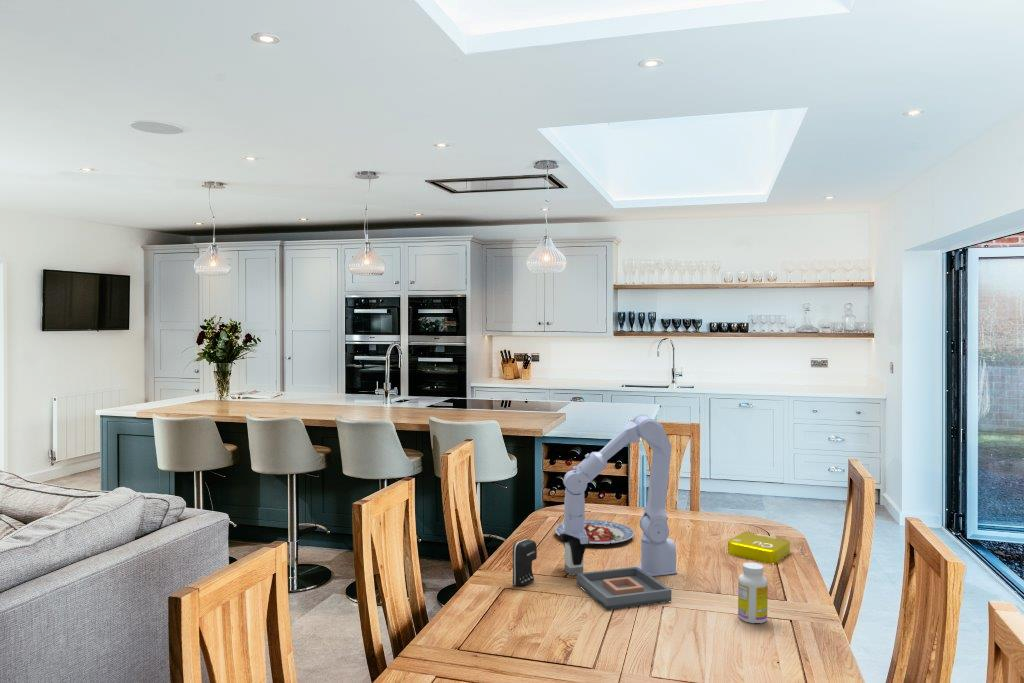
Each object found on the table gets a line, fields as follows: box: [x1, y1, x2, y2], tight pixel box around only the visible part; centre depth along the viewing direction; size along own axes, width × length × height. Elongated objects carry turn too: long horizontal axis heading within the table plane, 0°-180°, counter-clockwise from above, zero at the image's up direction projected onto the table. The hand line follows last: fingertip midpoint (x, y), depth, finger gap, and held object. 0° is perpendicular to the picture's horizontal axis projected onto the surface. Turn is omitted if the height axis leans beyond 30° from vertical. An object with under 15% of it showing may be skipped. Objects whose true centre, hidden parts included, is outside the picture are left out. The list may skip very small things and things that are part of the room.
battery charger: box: [512, 538, 538, 587], centre depth 193 cm, size 7×4×11 cm, turn 143°
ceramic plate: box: [554, 519, 635, 545], centre depth 235 cm, size 26×26×3 cm
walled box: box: [576, 566, 672, 611], centre depth 186 cm, size 18×18×3 cm
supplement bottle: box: [737, 562, 769, 624], centre depth 171 cm, size 7×7×13 cm
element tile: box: [727, 531, 791, 564], centre depth 220 cm, size 15×15×5 cm
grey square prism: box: [563, 542, 584, 576], centre depth 202 cm, size 4×4×8 cm
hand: (573, 561), depth 202 cm, fingers closed on grey square prism, 4 cm apart
